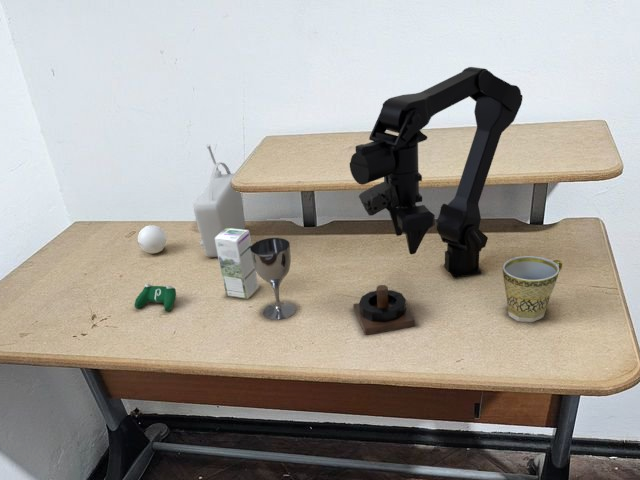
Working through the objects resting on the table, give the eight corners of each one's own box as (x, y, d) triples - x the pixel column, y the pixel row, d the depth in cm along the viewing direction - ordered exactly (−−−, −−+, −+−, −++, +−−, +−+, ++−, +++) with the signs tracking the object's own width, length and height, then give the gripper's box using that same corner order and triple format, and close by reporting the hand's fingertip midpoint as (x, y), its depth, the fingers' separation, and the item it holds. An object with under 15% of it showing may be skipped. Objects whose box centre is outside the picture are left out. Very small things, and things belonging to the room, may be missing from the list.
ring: (396, 295, 131) (396, 286, 130) (412, 316, 123) (411, 306, 122) (355, 304, 130) (354, 294, 128) (368, 325, 122) (367, 316, 121)
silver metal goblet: (293, 321, 129) (284, 255, 121) (256, 320, 131) (245, 255, 123) (301, 301, 136) (293, 237, 128) (266, 301, 138) (256, 237, 129)
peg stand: (400, 302, 131) (399, 272, 128) (415, 326, 123) (414, 295, 119) (353, 310, 131) (351, 280, 127) (365, 335, 122) (363, 304, 118)
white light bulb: (173, 245, 168) (167, 219, 164) (164, 257, 162) (157, 231, 158) (138, 246, 170) (131, 221, 166) (127, 259, 164) (120, 233, 160)
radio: (219, 227, 176) (202, 136, 162) (248, 225, 174) (233, 134, 161) (197, 262, 158) (176, 164, 144) (229, 261, 156) (211, 162, 143)
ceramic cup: (524, 333, 117) (529, 285, 112) (488, 311, 125) (491, 265, 119) (576, 311, 122) (583, 264, 116) (538, 291, 129) (543, 246, 124)
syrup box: (259, 287, 143) (250, 228, 135) (247, 300, 139) (236, 239, 131) (238, 284, 146) (227, 226, 138) (225, 297, 141) (213, 237, 133)
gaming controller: (176, 314, 140) (181, 288, 141) (168, 310, 137) (173, 283, 138) (141, 311, 143) (146, 286, 144) (132, 306, 140) (137, 281, 141)
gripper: (350, 161, 126) (356, 233, 134) (374, 193, 110) (379, 272, 119) (404, 152, 126) (406, 224, 135) (435, 182, 111) (435, 261, 120)
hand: (405, 244), depth 127 cm, fingers open, 9 cm apart
